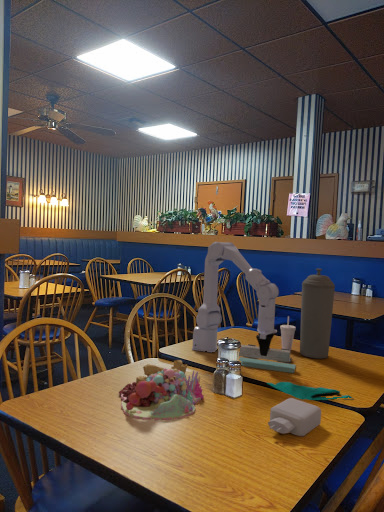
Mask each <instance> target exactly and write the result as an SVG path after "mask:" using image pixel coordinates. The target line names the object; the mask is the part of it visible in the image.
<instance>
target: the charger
mask: <svg viewBox="0 0 384 512" xmlns="http://www.w3.org/2000/svg"><path fill="white" fill-rule="evenodd" d="M269 411H270V414H269V416H270V417H269V421H268V422H267V424H268V426H269V429H270V430H273V431H275V432H277V433H280V434H289V433H291V434H292V435H295V436H298V437H304V436H306V435H307V434H308V433H310V432H311V431H312V430H314V429H315V428H316V427H318V426H319V425H321V421H322V419H321V418H322V410H321V408H320V407H319V406H318V405H314V404H311V403H309V402H305V401H304V400H301V399H298V398H295V397H289V398H287V399H285V400H283V401H281V402H280V403H278V404H276V405H274V406H273V407H271V408H270V410H269Z"/></svg>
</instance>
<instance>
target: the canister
mask: <svg viewBox="0 0 384 512" xmlns="http://www.w3.org/2000/svg"><path fill="white" fill-rule="evenodd" d="M315 271H317V272H316V274H310V275H308V276H307V277H306V279H304V280H303V281H302V283H301V303H300V305H301V306H300V307H301V310H300V333H299V334H300V340H299V341H300V342H299V353H300V355H302V356H304V357H306V358H309V359H318V360H322V359H327V358H328V357H329V354H330V353H329V351H330V342H331V341H330V339H331V330H332V329H331V328H332V319H333V308H334V299H335V298H334V297H335V288H336V286H335V283H334V282H333V281H332V280H331V278H330V277H329V276H328V275H323V274H321V272H322V271H323V269H322V268H316V269H315Z"/></svg>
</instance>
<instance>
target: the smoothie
mask: <svg viewBox="0 0 384 512" xmlns="http://www.w3.org/2000/svg"><path fill="white" fill-rule="evenodd" d="M289 324H290V316H289V315H288V316H287V324H282V325H280V326H279V327H280V334H281V335H280V336H281V349H289V351H290V352H291V351H292V347H293V342H294V336H295V331H296V330H297V329H296V326H294V325H291V324H290V325H289Z"/></svg>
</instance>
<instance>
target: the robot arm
mask: <svg viewBox="0 0 384 512" xmlns="http://www.w3.org/2000/svg"><path fill="white" fill-rule="evenodd" d="M224 261H231V262H232V263H233V264H234V265H235V266H236V267H237V268H238V269H239V270H240V271H241V272H242V273H244V274H245V276H244V277H245V280H246V281H247V283H248V284H249V285H250V286H251V287H252V288H253V289H254V291H256V292H255V294H256V297H257V298H258V314H257V315H258V317H257V329H256V331H257V333H258V334H256V340H257V343H258V347H259V348H260V354H261V356H267V353H268V348H271V343H272V340H273V338H274V336H275V334H277V332H278V330H277V329H275V317H276V316H275V313H276V299H277V297H278V296H279V294H280V291H279V287H278V286H277V285H276V283H272V282H271V281H270V280H269V279H267V278H266V276H264V275H263V273H262V272H263V271H262V270H261V269H258V268H254V267H252V266H251V265H250V263H248V261H247V259H245V257H244V256H243V255H242V253H241V252H240V251H239V249H238V246H235V244H234V243H233V242H229V241H228V242H224V241H223V242H222V241H214V242H212V243H211V244H210V245H209V246H208V247H207V254H206V256H205V259H204V274H203V275H204V276H203V277H204V278H203V302H202V305H201V306H200V307H199V308H198V312H197V315H196V319H195V320H196V324H197V325H196V326H195V327H194V329H193V333H192V347H191V350H192V351H199V352H205V351H207V352H206V353H212V352H215V351H216V350H217V347H218V346H217V345H218V342H217V341H218V328H219V325H220V324H221V322H222V320H223V319H222V318H223V317H222V314H221V307H220V306H219V304H218V289H219V288H218V286H219V265H221V264H222V263H224ZM217 351H218V350H217ZM217 351H216V352H217ZM216 352H215V353H216Z"/></svg>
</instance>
